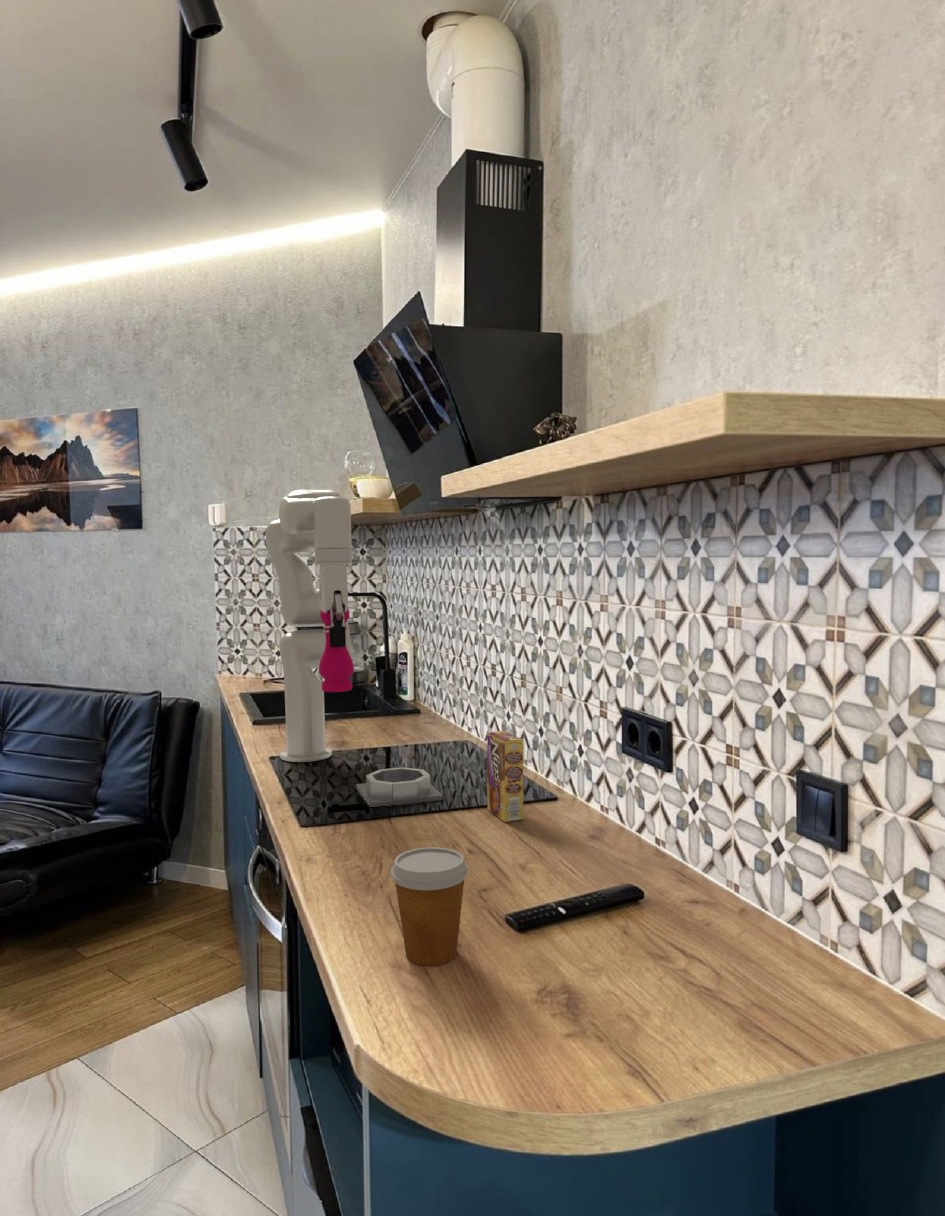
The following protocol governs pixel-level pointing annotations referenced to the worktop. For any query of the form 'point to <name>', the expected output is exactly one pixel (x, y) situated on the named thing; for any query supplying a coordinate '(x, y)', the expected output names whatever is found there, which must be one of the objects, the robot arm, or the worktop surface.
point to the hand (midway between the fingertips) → (335, 644)
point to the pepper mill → (335, 660)
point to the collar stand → (398, 787)
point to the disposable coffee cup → (430, 902)
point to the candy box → (505, 775)
